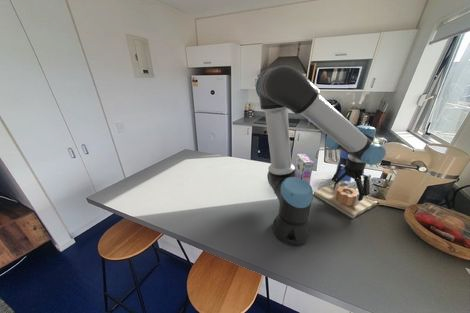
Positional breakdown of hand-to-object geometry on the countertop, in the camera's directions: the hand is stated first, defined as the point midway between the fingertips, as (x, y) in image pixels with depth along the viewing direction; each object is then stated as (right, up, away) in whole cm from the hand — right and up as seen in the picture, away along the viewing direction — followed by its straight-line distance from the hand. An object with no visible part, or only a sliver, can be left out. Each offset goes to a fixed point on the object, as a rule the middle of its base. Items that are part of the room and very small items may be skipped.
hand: (345, 199), depth 90 cm
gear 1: (+5, +2, +10) cm, 12 cm away
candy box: (-14, +6, +24) cm, 28 cm away
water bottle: (+14, +7, +26) cm, 30 cm away
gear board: (+4, -1, +6) cm, 8 cm away
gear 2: (0, 0, 0) cm, 0 cm away
